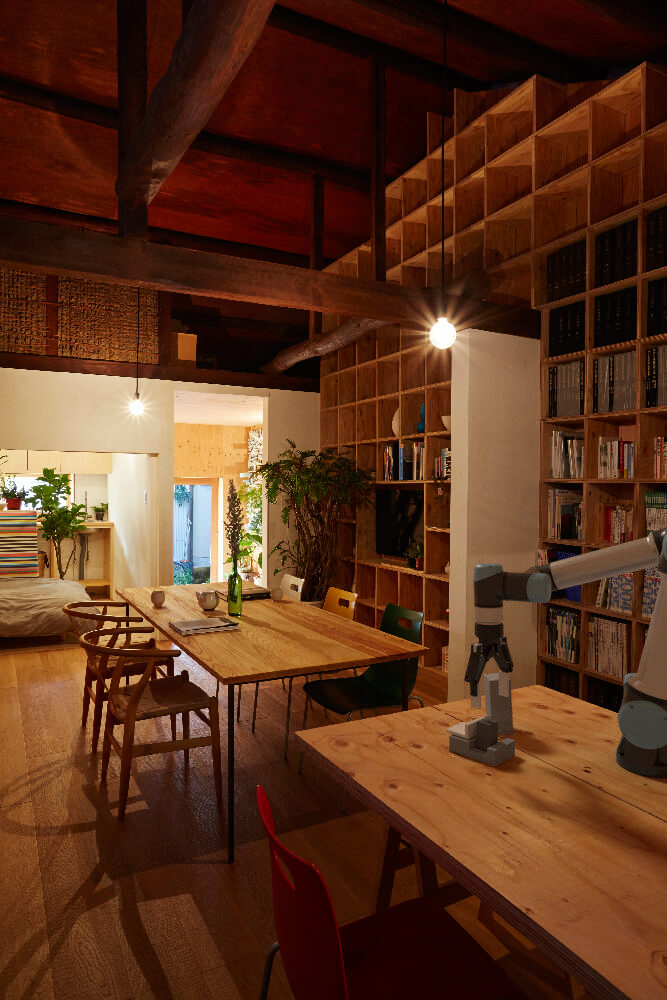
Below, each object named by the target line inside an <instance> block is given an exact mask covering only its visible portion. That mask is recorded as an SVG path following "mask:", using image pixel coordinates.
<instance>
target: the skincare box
mask: <svg viewBox="0 0 667 1000" xmlns="http://www.w3.org/2000/svg"><path fill="white" fill-rule="evenodd" d="M511 681H512V680H511V679H510V678H509V697H505V696H501V695H499V677H498V672H496V673H495V672H494V673H483V687H484V689H483V690H484V707H485V711H484V712H485V715H490V716H491V719H492V720H495V721H498V735H501V734H502V735H506V734H507V735H513V734H514V718H513V698H512V682H511Z"/></svg>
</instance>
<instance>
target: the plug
mask: <svg viewBox="0 0 667 1000" xmlns="http://www.w3.org/2000/svg"><path fill="white" fill-rule="evenodd" d="M483 717H484V718H483V719H481V720H479V721H477V749H480V750H483V751H486V752H487V748H489V747H491V746H493V745H494V744H496V743H498V742H499V734H498V721H495V720H492V719H491V716H490V715H486V714H484V715H483Z"/></svg>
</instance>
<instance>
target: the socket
mask: <svg viewBox="0 0 667 1000" xmlns="http://www.w3.org/2000/svg"><path fill="white" fill-rule="evenodd" d="M448 740H449V741H448V742H449V743H448V745H449V747H448V748H449V749H448V751H450V752H452V753H456V754H458V755H461V756H463V757H467V758H470V759H473V760H475V761H478V762H481V763H484V764H487V765H488V766H493V767H498V765H500V764H501V763H504V762H505V761H507V760H509V759H511V758H512V757H514V756H516V740H515V739H513V738H509V737H507V738H504V739H502V740H501V741H498V743H496V744H494V745H493V746H491V747H489V748H487V752H486V751H483V750H480V749H477V735H476V736H474V737H472V738H470V739H466V738H463V737H460V736H457V735H454V734H450V735H449V737H448Z"/></svg>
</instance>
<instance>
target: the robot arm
mask: <svg viewBox="0 0 667 1000" xmlns="http://www.w3.org/2000/svg"><path fill="white" fill-rule="evenodd" d="M654 567H657V568H656V572H657V574H658V575H659V577H660V579H661V581H660V585H659V588H658V592H657V597H656V601H655V603H654V607H653V611H652V615H651V619H650V623H649V627H648V630H647V633H646V638H645V642H644V645H643V650H642V653H641V657H640V661H639V665H638V668H637V672H634V673H633V672H631V673H627V674H625V675H624V677H623V682H622V683H623V698H622V702H621V705H620V709H619V710H618V713H617V723H618V727H619V731H620V732H621V736H620V740H619V742H618V745H617V747H616V750H615V761H616V763H617V764H618V765H619V766H620V767H621V768H623V769H625V770H627V771H629V772H632V773H634V774H638V775H642V776H647V777H651V778H652V777H653V778H667V526H665V527H663V528H660V529H656V530H653V531H652V530H651V531H650V532H649V534H648V536H646V537H642V538H638V539H634V540H631V541H628V542H627V541H626V542H623V543H619V544H617V545H612V546H609V547H605V548H602V549H601V548H600V549H598V550H593V551H589V552H586V553H583V554H579V555H578V554H577V555H575V556H571V557H568V558H564V559H560V560H556V561H553V562H549V563H547V564H545V563H544V564H541V565H535V566H531V567H529V568H528V569H526V570H524V571H523V572H521V571H520V572H515V571H512V572H511V571H510V572H509V571H504V569H503V565H502V564H501V563H494V562H484V563H483V562H481V563H477V564H476V565H475V566H474V568H473V580H472V582H473V598H474V599H473V601H474V602H473V606H474V609H473V610H474V636H475V637H476V638H478V643H477V644H476V643H471V645H470V654H469V659H468V662H467V667H466V670H465V676H464V679H463V681H464V682H465V683H469V695H470V708H472V709H476V710H480V711H481V710H482V683H480V680H481V678H482V675H483V674H484V673H483V672H484V670H485V667H486V665H487V662H489V661H490V659H492V658H493V660H494V661H495V663H496V664H497V667H498V668H499V669H500V670H499V671H498V672H497V673H498V677H499V695H501V696H505V697H509V679H510V678H509V677H510V676H509V675H510V673H513V671H514V670H513V669H514V665H515V664H514V662H513V659H512V656H511V652H510V649H509V646H508V637H507V636H504V634H505V633H504V631H505V629H504V623H503V622H504V602H505V601H506V602H509V601H510V602H519V603H520V602H522V603H533V604H545V603H546V604H547V603H548V602H549V601H550V600H551V596H552V592H555V591H559V590H563V589H567V588H571V587H575V586H578V585H579V586H580V585H583V584H588V583H591V582H597V581H600V580H603V579H609V578H612V577H617V576H621V575H625V574H628V573H633V572H636V571H641V570H646V569H650V568H654Z"/></svg>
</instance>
